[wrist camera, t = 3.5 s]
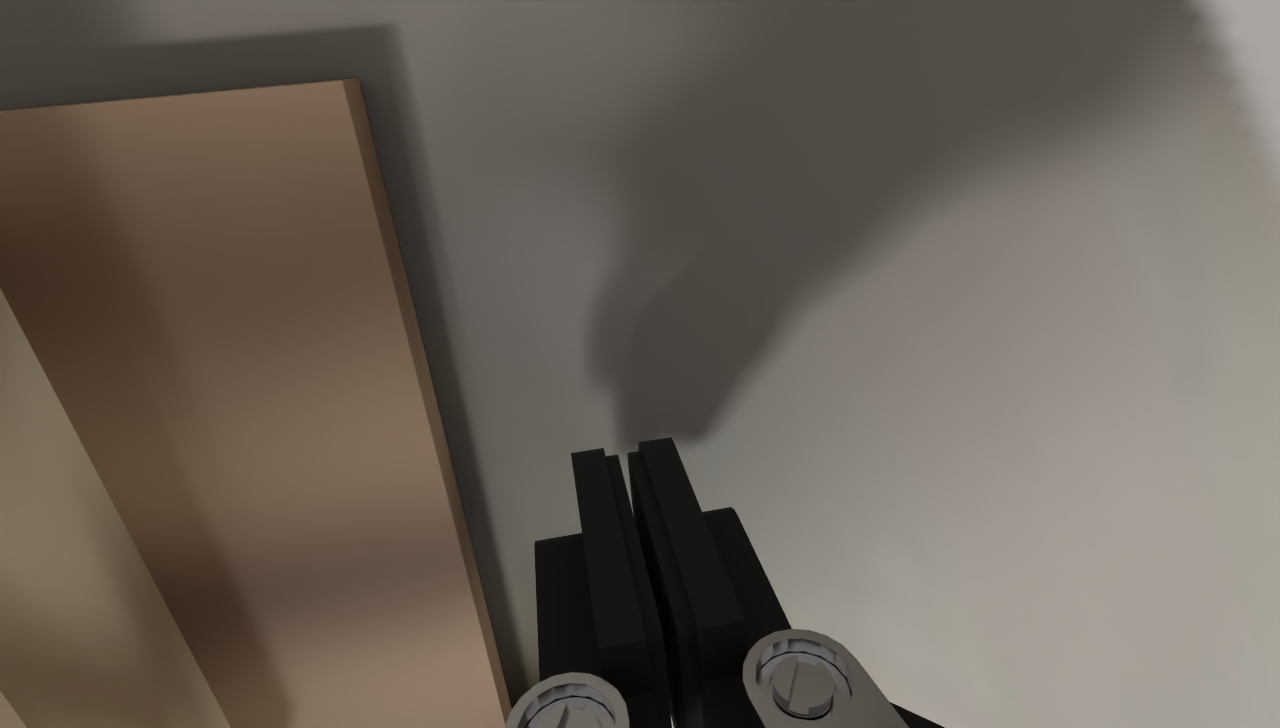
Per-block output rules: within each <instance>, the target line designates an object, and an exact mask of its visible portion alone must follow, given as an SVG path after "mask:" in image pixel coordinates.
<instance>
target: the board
mask: <svg viewBox="0 0 1280 728" xmlns="http://www.w3.org/2000/svg"><path fill="white" fill-rule="evenodd" d="M0 289H1V290H2V292H3V294H4V296H5V298H6V300H7V302H8V304H9V306H10V308H11V310H12V311H13V313H14V315H15V317H16V319H17V321H18V323H19V325H20V327H21V329H22V331H23V332H24V334H25V336H26V338H27V340H28V342H29V344H30V346H31V348H32V350H33V351H34V353H35V355H36V357H37V359H38V361H39V363H40V365H41V367H42V369H43V371H44V372H45V374H46V376H47V378H48V380H49V382H50V384H51V386H52V388H53V390H54V392H55V393H56V395H57V397H58V399H59V401H60V403H61V405H62V407H63V409H64V411H65V412H66V414H67V416H68V418H69V420H70V422H71V424H72V426H73V428H74V430H75V432H76V433H77V435H78V437H79V439H80V441H81V443H82V445H83V447H84V449H85V451H86V453H87V454H88V456H89V458H90V460H91V462H92V464H93V466H94V468H95V470H96V472H97V473H98V475H99V477H100V479H101V481H102V483H103V485H104V487H105V489H106V491H107V493H108V494H109V496H110V498H111V500H112V502H113V504H114V506H115V508H116V510H117V512H118V514H119V515H120V517H121V519H122V521H123V523H124V525H125V527H126V529H127V531H128V533H129V534H130V536H131V538H132V540H133V542H134V544H135V546H136V548H137V550H138V552H139V554H140V555H141V557H142V559H143V561H144V563H145V565H146V567H147V569H148V571H149V573H150V575H151V576H152V578H153V580H154V582H155V584H156V586H157V588H158V590H159V592H160V594H161V595H162V597H163V599H164V601H165V603H166V605H167V607H168V609H169V611H170V613H171V615H172V616H173V618H174V620H175V622H176V624H177V626H178V628H179V630H180V632H181V634H182V635H183V637H184V639H185V641H186V643H187V645H188V647H189V649H190V651H191V653H192V655H193V656H194V658H195V660H196V662H197V664H198V666H199V668H200V670H201V672H202V674H203V676H204V677H205V679H206V681H207V683H208V685H209V687H210V689H211V691H212V693H213V695H214V696H215V698H216V700H217V702H218V704H219V706H220V708H221V710H222V712H223V714H224V716H225V717H226V719H227V721H228V723H229V725H230V727H231V728H505V726H506V723H507V720H508V717H509V714H510V712H511V710H512V708H511V704H510V700H509V696H508V692H507V688H506V684H505V680H504V675H503V671H502V667H501V663H500V659H499V655H498V651H497V647H496V643H495V638H494V634H493V630H492V626H491V622H490V618H489V614H488V610H487V605H486V601H485V597H484V593H483V589H482V585H481V581H480V577H479V573H478V568H477V564H476V560H475V556H474V552H473V548H472V544H471V540H470V535H469V531H468V527H467V523H466V519H465V515H464V511H463V507H462V503H461V498H460V494H459V490H458V486H457V482H456V478H455V474H454V470H453V465H452V461H451V457H450V453H449V449H448V445H447V441H446V437H445V433H444V428H443V424H442V420H441V416H440V412H439V408H438V404H437V400H436V396H435V391H434V387H433V383H432V379H431V375H430V371H429V367H428V363H427V358H426V354H425V350H424V346H423V342H422V338H421V334H420V330H419V326H418V321H417V317H416V313H415V309H414V305H413V301H412V297H411V293H410V288H409V284H408V280H407V276H406V272H405V268H404V264H403V260H402V256H401V251H400V247H399V243H398V239H397V235H396V231H395V227H394V223H393V218H392V214H391V210H390V206H389V202H388V198H387V194H386V190H385V186H384V181H383V177H382V173H381V169H380V165H379V161H378V157H377V153H376V149H375V144H374V140H373V136H372V132H371V128H370V124H369V120H368V116H367V111H366V107H365V103H364V99H363V95H362V91H361V87H360V83H359V79H358V78H352V79H341V80H330V81H319V82H308V83H297V84H286V85H275V86H264V87H253V88H242V89H231V90H220V91H209V92H198V93H187V94H176V95H165V96H154V97H143V98H132V99H121V100H110V101H99V102H88V103H77V104H66V105H55V106H44V107H33V108H22V109H11V110H0Z"/></svg>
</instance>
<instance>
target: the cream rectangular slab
mask: <svg viewBox="0 0 1280 728" xmlns="http://www.w3.org/2000/svg"><path fill="white" fill-rule="evenodd" d="M0 728H231V727H230V725H229V723H228V721H227V719H226V717H225V716H224V714H223V712H222V710H221V708H220V706H219V704H218V702H217V700H216V698H215V696H214V695H213V693H212V691H211V689H210V687H209V685H208V683H207V681H206V679H205V677H204V676H203V674H202V672H201V670H200V668H199V666H198V664H197V662H196V660H195V658H194V656H193V655H192V653H191V651H190V649H189V647H188V645H187V643H186V641H185V639H184V637H183V635H182V634H181V632H180V630H179V628H178V626H177V624H176V622H175V620H174V618H173V616H172V615H171V613H170V611H169V609H168V607H167V605H166V603H165V601H164V599H163V597H162V595H161V594H160V592H159V590H158V588H157V586H156V584H155V582H154V580H153V578H152V576H151V575H150V573H149V571H148V569H147V567H146V565H145V563H144V561H143V559H142V557H141V555H140V554H139V552H138V550H137V548H136V546H135V544H134V542H133V540H132V538H131V536H130V534H129V533H128V531H127V529H126V527H125V525H124V523H123V521H122V519H121V517H120V515H119V514H118V512H117V510H116V508H115V506H114V504H113V502H112V500H111V498H110V496H109V494H108V493H107V491H106V489H105V487H104V485H103V483H102V481H101V479H100V477H99V475H98V473H97V472H96V470H95V468H94V466H93V464H92V462H91V460H90V458H89V456H88V454H87V453H86V451H85V449H84V447H83V445H82V443H81V441H80V439H79V437H78V435H77V433H76V432H75V430H74V428H73V426H72V424H71V422H70V420H69V418H68V416H67V414H66V412H65V411H64V409H63V407H62V405H61V403H60V401H59V399H58V397H57V395H56V393H55V392H54V390H53V388H52V386H51V384H50V382H49V380H48V378H47V376H46V374H45V372H44V371H43V369H42V367H41V365H40V363H39V361H38V359H37V357H36V355H35V353H34V351H33V350H32V348H31V346H30V344H29V342H28V340H27V338H26V336H25V334H24V332H23V331H22V329H21V327H20V325H19V323H18V321H17V319H16V317H15V315H14V313H13V311H12V310H11V308H10V306H9V304H8V302H7V300H6V298H5V296H4V294H3V292H2V290H1V289H0Z"/></svg>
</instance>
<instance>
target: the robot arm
mask: <svg viewBox="0 0 1280 728" xmlns="http://www.w3.org/2000/svg"><path fill="white" fill-rule="evenodd" d="M571 456H572V463H573V470H574V478H575V485H576V492H577V499H578V506H579V514H580V521H581V528H582V533H579V534H574V535H568V536H562V537H556V538H551V539H545V540H539V541H535V572H536V598H537V623H538V649H539V675H540V683H538V684H536V685H535V686H533V687H532V688H531V689H530V690H529V691H527V692H526V693H525V694H524V695H523V696H521V698H520V699H519V700H518V702H517V703H516V705H515V706H514V708H513V709H512V710H511V712H510V714H509V717H508V720H507V723H506V726H505V728H672V725H671V717H672V721H673V726H674V728H945V727H942V726H940V725H938V724H936V723H934V722H932V721H929V720H927V719H925V718H923V717H921V716H919V715H917V714H914V713H912V712H910V711H908V710H906V709H904V708H902V707H899V706H897V705H895V704H893V703H891V702H889V701H888V700H887V698H886V697H885V696H884V694H883V693H882V692H881V690H880V689H879V688H878V686H877V685H876V684H875V683H874V681H873V680H872V679H871V677H870V676H869V675H868V673H867V672H866V671H865V669H864V668H863V667H862V666H861V664H860V663H859V662H858V660H857V659H856V658H855V657H854V656H853V655H852V654H851V653H850V652H849V651H848V650H847V649H846V648H845V647H844V646H843V645H842V644H840V643H838V642H837V641H835V640H833V639H832V638H830V637H828V636H827V635H823V634H820V633H817V632H814V631H810V630H800V629H792V628H791V626H790V624H789V622H788V620H787V618H786V616H785V614H784V612H783V609H782V607H781V605H780V603H779V601H778V599H777V597H776V595H775V593H774V591H773V589H772V586H771V584H770V582H769V580H768V578H767V576H766V574H765V572H764V570H763V568H762V566H761V563H760V561H759V559H758V557H757V555H756V553H755V551H754V549H753V547H752V545H751V543H750V540H749V538H748V536H747V534H746V532H745V530H744V528H743V526H742V524H741V522H740V519H739V517H738V515H737V514H736V512H735V510H734V509H733V508H731V507H729V508H723V509H717V510H712V511H706V512H702V511H701V508H700V506H699V503H698V501H697V498H696V496H695V494H694V491H693V489H692V486H691V484H690V481H689V479H688V476H687V474H686V471H685V469H684V466H683V464H682V461H681V459H680V456H679V454H678V452H677V449H676V447H675V444H674V442H673V440H672V438H671V437H670V438H663V439H657V440H651V441H644V442H639V451H637V452H631V453H628V467H629V476H630V486H631V496H632V505H633V513H632V509H631V505H630V501H629V497H628V493H627V489H626V485H625V481H624V477H623V473H622V469H621V465H620V461H619V457H618V455H612V456H605V452H604V448H601V449H594V450H588V451H582V452H576V453H571ZM633 515H634V517H633Z"/></svg>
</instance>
